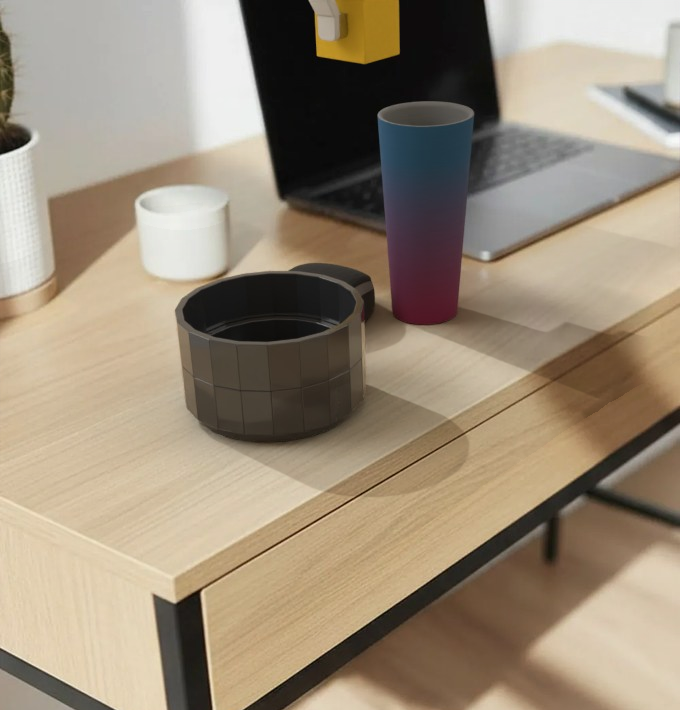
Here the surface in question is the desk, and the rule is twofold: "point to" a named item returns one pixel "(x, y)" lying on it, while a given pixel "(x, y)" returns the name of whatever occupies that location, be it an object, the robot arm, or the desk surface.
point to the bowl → (272, 354)
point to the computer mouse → (345, 280)
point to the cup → (425, 205)
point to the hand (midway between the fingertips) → (358, 32)
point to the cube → (364, 32)
